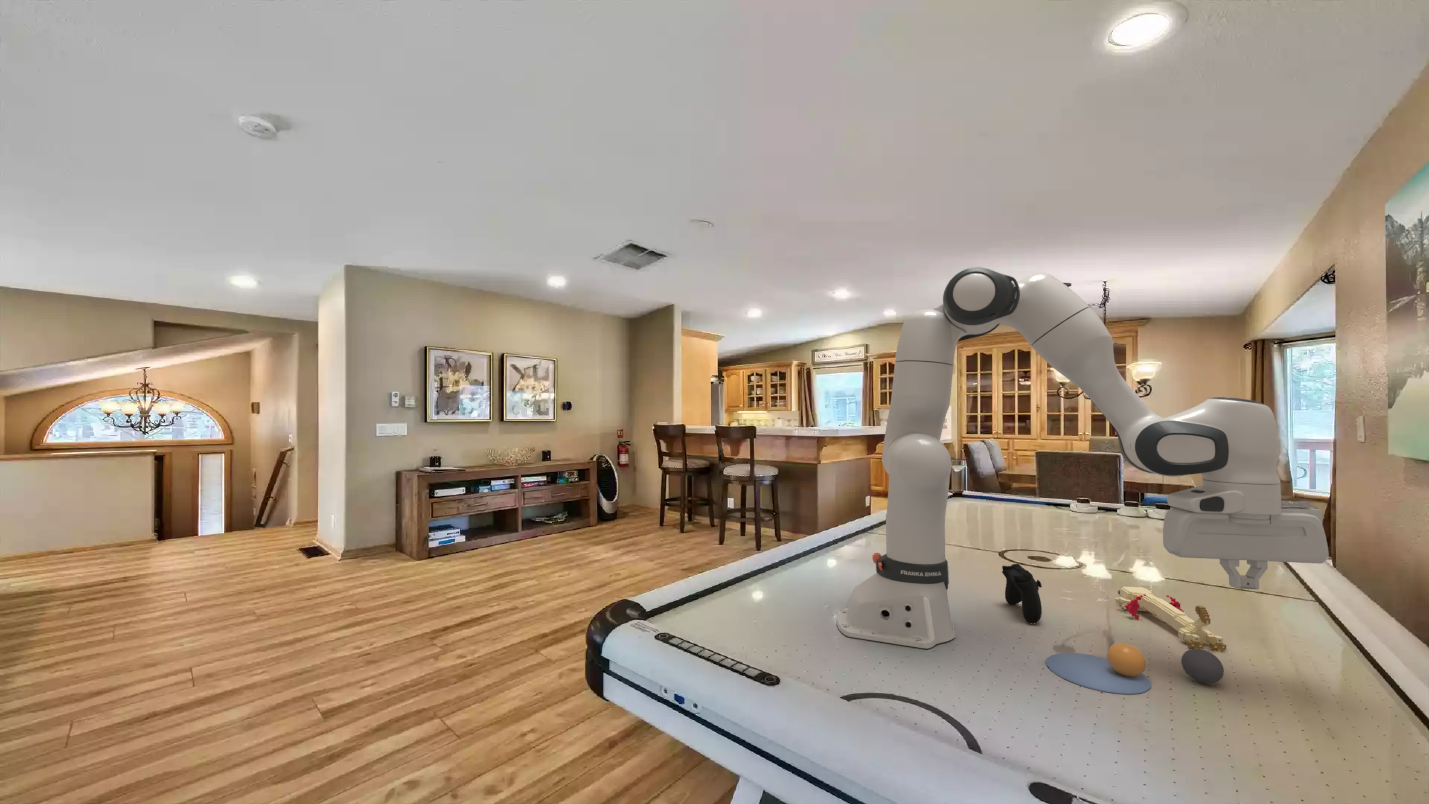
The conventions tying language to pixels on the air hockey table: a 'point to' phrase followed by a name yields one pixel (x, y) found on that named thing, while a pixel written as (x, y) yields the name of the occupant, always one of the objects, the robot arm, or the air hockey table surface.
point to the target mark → (1095, 674)
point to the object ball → (1126, 659)
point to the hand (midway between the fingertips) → (1244, 588)
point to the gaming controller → (1023, 591)
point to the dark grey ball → (1202, 666)
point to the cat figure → (1171, 616)
